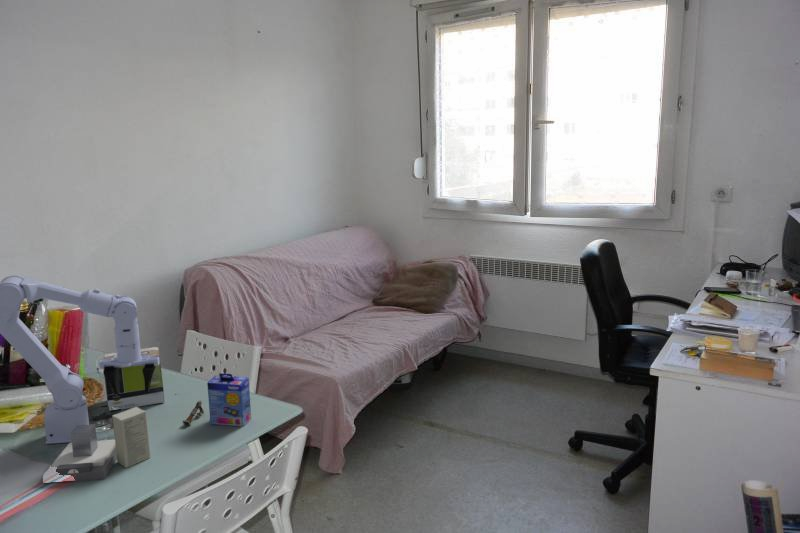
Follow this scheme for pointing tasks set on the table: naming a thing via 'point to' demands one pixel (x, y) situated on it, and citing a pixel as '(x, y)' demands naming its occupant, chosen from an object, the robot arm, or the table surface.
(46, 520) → the table surface
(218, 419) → the ink cartridge box
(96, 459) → the dial scale
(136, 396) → the tea box
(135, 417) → the skincare box
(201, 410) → the wooden post with brackets
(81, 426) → the block
